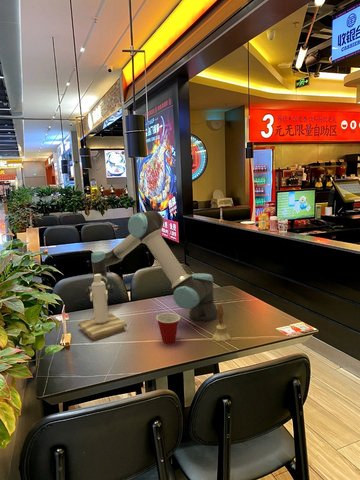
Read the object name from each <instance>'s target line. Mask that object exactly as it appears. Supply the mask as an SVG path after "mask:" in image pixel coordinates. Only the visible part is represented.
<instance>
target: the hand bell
mask: <svg viewBox="0 0 360 480" xmlns="http://www.w3.org/2000/svg"><path fill="white" fill-rule="evenodd" d="M216 309H217V312H218V323H219V324H217V325H216V327H215V333H214V334H213V335H212V340H213V341H216V342H227V341H229V340H231V337H232V336H231V335H230V333H228V330H227V326H226V325H225V324H224V322H223V317H224V308H223V305H222V304H221V303H219V304H218V305H217V308H216Z"/></svg>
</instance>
